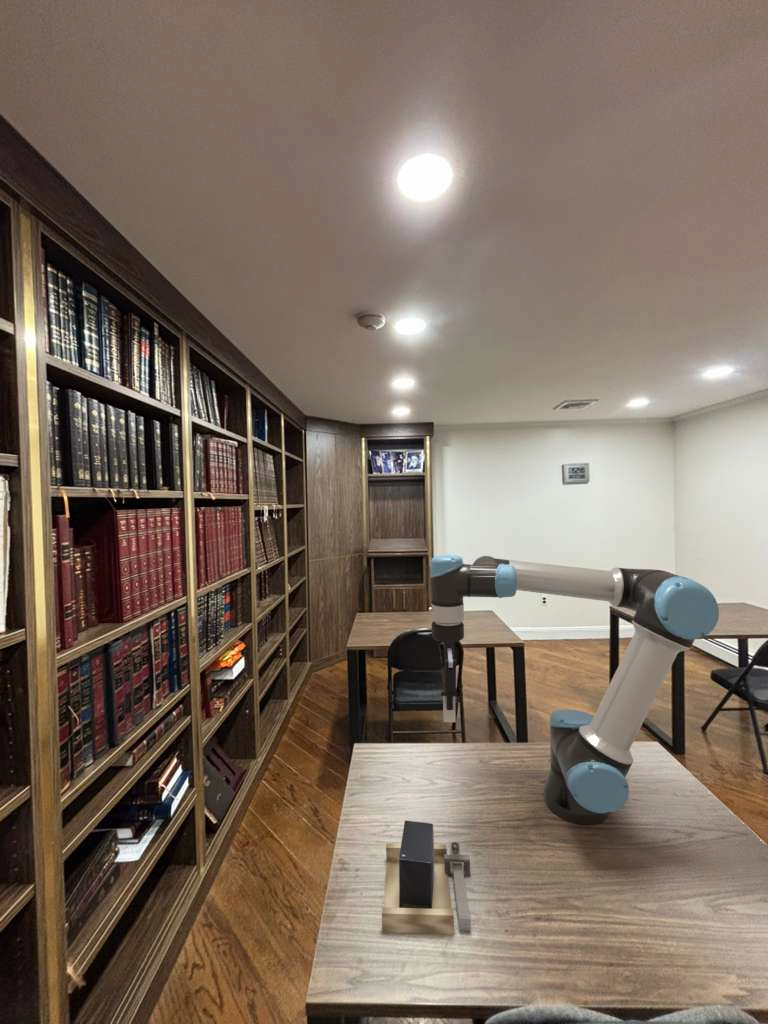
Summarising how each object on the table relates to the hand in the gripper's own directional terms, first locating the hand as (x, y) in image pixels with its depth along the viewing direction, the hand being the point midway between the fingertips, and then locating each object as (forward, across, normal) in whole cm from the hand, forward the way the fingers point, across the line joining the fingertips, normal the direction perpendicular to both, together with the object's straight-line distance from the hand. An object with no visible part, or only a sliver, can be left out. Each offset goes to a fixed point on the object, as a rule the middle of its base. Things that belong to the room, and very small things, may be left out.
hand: (449, 720), depth 104 cm
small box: (+26, +17, -8) cm, 32 cm away
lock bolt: (+26, +16, 0) cm, 31 cm away
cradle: (+26, +17, -6) cm, 32 cm away
